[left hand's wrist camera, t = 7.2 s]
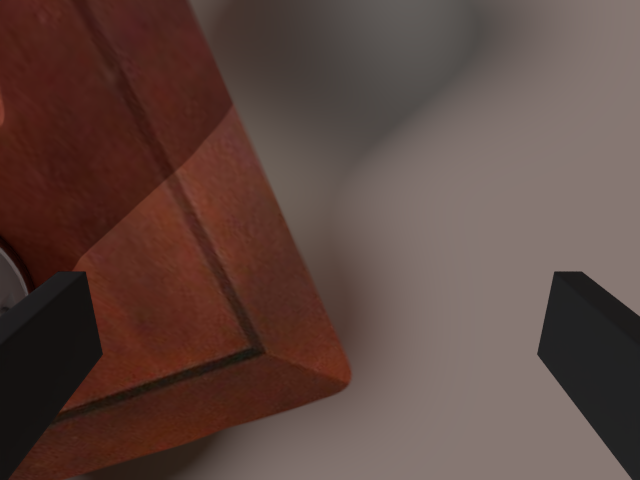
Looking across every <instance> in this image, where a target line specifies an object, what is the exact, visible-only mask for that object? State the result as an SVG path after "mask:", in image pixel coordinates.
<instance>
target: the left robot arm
mask: <svg viewBox="0 0 640 480" xmlns="http://www.w3.org/2000/svg"><path fill="white" fill-rule="evenodd" d="M102 355H103V353H102V348H101V343H100V339H99V334H98V329H97V324H96V319H95V314H94V310H93V305H92V300H91V295H90V290H89V285H88V281H87V276H86V272H57V273H56V274H54V275H53V276H52V277H51V278H49V279H48V280H47V281H45V282H44V283H43V284H42V285H40V286H39V287H38V288H36V289H35V290H34V286H33V283H32V280H31V277H30V275H29V273H28V271H27V269H26V267H25V265H24V264H23V262H22V261H21V259H20V258H19V257H18V255H17V254H16V253H15V252H14V250H13V249H12V248H11V247H10V246H9V245H8V244H7V243H6V242H5V241H4V240H3V239H2V238H0V480H8V479H9V477H10V476H11V475H12V473H13V472H14V471H15V469H16V468H17V467H18V465H19V464H20V463H21V461H22V460H23V459H24V458H25V456H26V455H27V454H28V452H29V451H30V450H31V448H32V447H33V446H34V444H35V443H36V442H37V440H38V439H39V438H40V436H41V435H42V434H43V433H44V431H45V430H46V429H47V427H48V426H49V425H50V423H51V422H52V421H53V419H54V418H55V417H56V415H57V414H58V413H59V411H60V410H61V409H62V407H63V406H64V405H65V404H66V402H67V401H68V400H69V398H70V397H71V396H72V394H73V393H74V392H75V390H76V389H77V388H78V386H79V385H80V384H81V382H82V381H83V380H84V379H85V377H86V376H87V375H88V373H89V372H90V371H91V369H92V368H93V367H94V365H95V364H96V363H97V361H98V360H99V359H100V357H101V356H102ZM537 355H538V356H539V357H540V359H541V360H542V361H543V363H544V364H545V365H546V367H547V368H548V369H549V371H550V372H551V373H552V375H553V376H554V377H555V378H556V380H557V381H558V382H559V384H560V385H561V386H562V388H563V389H564V390H565V392H566V393H567V394H568V396H569V397H570V398H571V400H572V401H573V402H574V404H575V405H576V406H577V407H578V409H579V410H580V411H581V413H582V414H583V415H584V417H585V418H586V419H587V421H588V422H589V423H590V425H591V426H592V427H593V429H594V430H595V431H596V433H597V434H598V435H599V436H600V438H601V439H602V440H603V442H604V443H605V444H606V446H607V447H608V448H609V450H610V451H611V452H612V454H613V455H614V456H615V458H616V459H617V460H618V461H619V463H620V464H621V465H622V467H623V468H624V469H625V471H626V472H627V473H628V475H629V476H630V477H631V479H632V480H640V316H638V315H637V314H636V313H634V312H633V311H632V310H631V309H629V308H628V307H627V306H625V305H624V304H623V303H621V302H620V301H619V300H618V299H616V298H615V297H614V296H613V295H611V294H610V293H609V292H607V291H606V290H605V289H604V288H602V287H601V286H600V285H598V284H597V283H596V282H595V281H593V280H592V279H591V278H589V277H588V276H587V275H586V274H584V273H583V272H554V276H553V281H552V286H551V290H550V295H549V300H548V305H547V310H546V314H545V319H544V324H543V329H542V334H541V339H540V343H539V348H538V353H537Z"/></svg>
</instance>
